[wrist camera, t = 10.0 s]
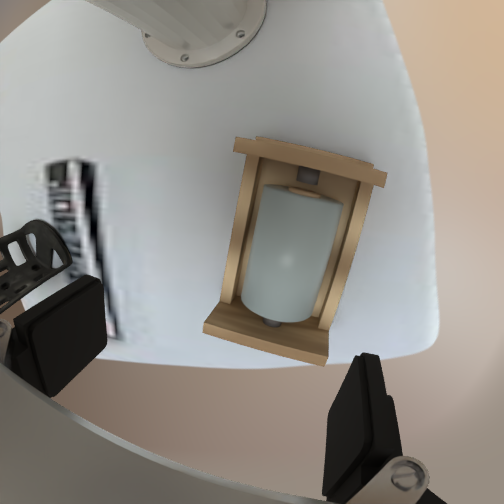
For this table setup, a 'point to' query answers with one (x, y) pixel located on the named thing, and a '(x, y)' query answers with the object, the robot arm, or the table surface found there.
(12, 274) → the holder
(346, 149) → the table surface
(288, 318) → the roll
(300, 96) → the table surface
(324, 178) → the cradle
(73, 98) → the table surface
